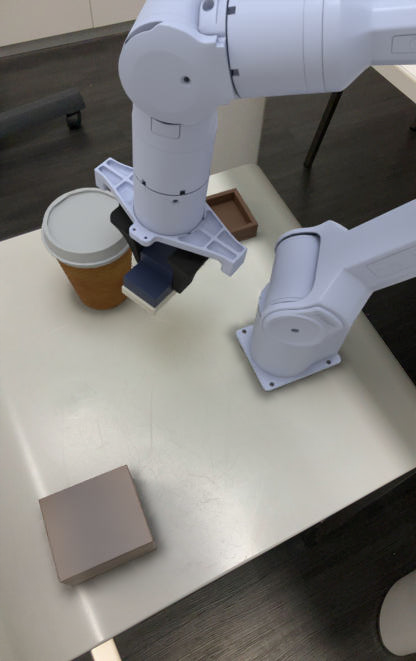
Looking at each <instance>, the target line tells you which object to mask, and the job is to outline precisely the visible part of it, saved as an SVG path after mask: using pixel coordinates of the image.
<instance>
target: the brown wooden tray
mask: <svg viewBox="0 0 416 661" xmlns="http://www.w3.org/2000/svg"><path fill="white" fill-rule="evenodd" d="M206 203H207V204H208V205H209V207H210V208H211V209H212V210H213V212H214V213H215V214H216V215H217V217H218V218H219V219H220V220H221V222H222V223H223V224H224V226H225V227H226V228H227V229H228V231H229V232H230V233H231V234H232V235H233V237H234V238H235V239H236V240H237V241H238V242H242V241H245V240H248V239H251V238H254V237H257V236H258V234H257V233H258V227H259V223H258V221H257V220H256V218H255V216H254V214H253V213H252V211H251V210H250V208H249V206H248V205H247V203H246V202H245V200H244V198H243V197H242V195H241V194H240V191H239V190H238V189H237V187H234V188H230V189H226V190H224V191H223V190H222V191H220V192H217V193H213V194H211V195H206Z"/></svg>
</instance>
